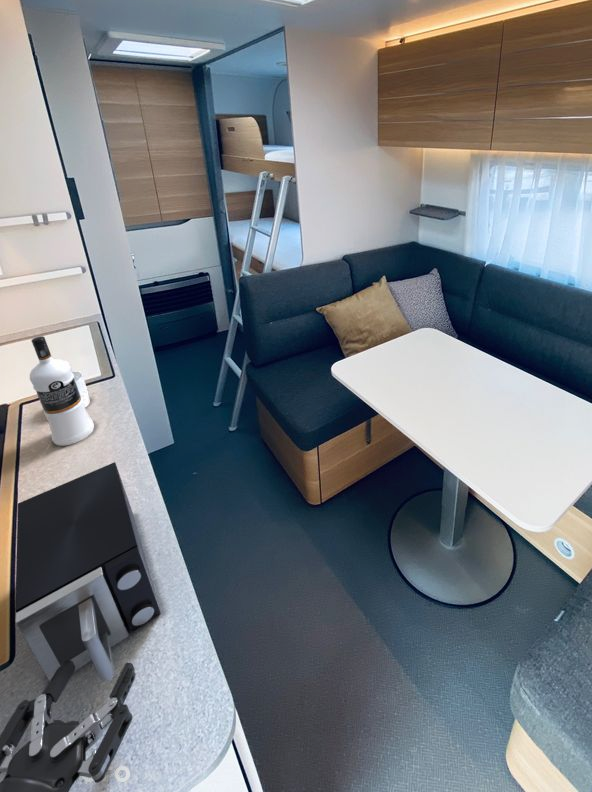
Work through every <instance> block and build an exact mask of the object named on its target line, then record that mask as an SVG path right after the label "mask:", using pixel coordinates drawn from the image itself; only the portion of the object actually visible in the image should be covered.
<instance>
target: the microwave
mask: <svg viewBox="0 0 592 792" xmlns="http://www.w3.org/2000/svg"><path fill="white" fill-rule="evenodd" d="M16 516H17V518H16V519H17V521H16V522H17V523H16V558H15V561H16V565H15V566H16V567H15V600H14V601H15V603H14V605H15V606H14V608H15V609H14V611H15V614H16V613H17V612H19V611H21V610H22V609H24V608H26V607H28V606H30V605H32V604H33V603H35V602H37V601H39V600H41V599H43V598H44V597H46V596H48V595H50V594H52V593H54V592H55V591H57V590H59V589H61V588H63V587H65V586H66V585H68V584H70V583H72V582H74V581H76V580H77V579H79V578H81V577H83V576H85V575H87V574H88V573H90V572H92V571H94V570H96V569H98V568H100V567H102V569H103V571H104V574H105V576H106V578H107V581H108V583H109V586H110V588H111V591H112V593H113V595H114V598H115V600H116V603H117V605H118V607H119V610H120V612H121V615H122V617H123V619H124V622H125V624H126V627H127V626H128V629H129V631H130V633H134V632H135V631H136V630H138V629H140V628H142V627H143V626H145V625H146V624H148V623H149V622H151V621H152V620H154V619H155V618H157V617H158V616H160V615H161V614H162V612H161V609H160V604H159V602H158V601H159V600H158V598H157V597H158V596H157V594H156V591H155V587H154V583H153V580H152V576H151V572H150V568H149V566H148V562H147V558H146V555H145V554H146V553H145V551H144V547H143V544H142V540H141V537H140V533H139V529H138V525H137V521H136V518H135V516H134V512H133V509H132V507H131V504H130V501H129V498H128V496H127V492H126V489H125V486H124V483H123V480H122V478H121V474H120V472H119V469H118V465H117V463H116V462H115V461H113V462H112V463H108V464H106V465H105V466H102V467H100V468H98V469H94V470H93V471H90V472H88V473H86V474H83V475H81V476H79V477H76V478H74V479H72V480H69V481H67V482H65V483H61V484H60V485H57V486H55V487H53V488H51V489H47V490H46V491H43V492H42V493H39V494H36V495H34V496H32V497H29V498H27V499H25V500H23V501H20V502H18V503H17V515H16Z"/></svg>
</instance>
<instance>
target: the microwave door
mask: <svg viewBox="0 0 592 792" xmlns="http://www.w3.org/2000/svg"><path fill="white" fill-rule="evenodd" d="M15 625H16V627H17V628H18V630H19V632H20V633H21V635H22V637H23V639H24V640H25V642H26V644H27V646H28V647H29V649H30V650H31V652H32V654H33V655H34V658H35V659H36V661H37V663H38V665H39V666H40V668H41V669H42V671H43V673H44V674H45V676H46V678H47V680H48V681H49V682H50V680H51V678H52V677H53V676H54V674H55V672H56V670H57V669H58V668H59V667H60V666H63V664H64V662H65V661H67V660H70V661H73V663H74V665H75V671H74V672H76V671H77V670H79V669H80V668H82V667H84V666H85V665H87V664H89V663H90V662H91V661H92V663H93V665H94V667H95V669H96V671H97V673H98V675H99V677H100V680H101V682H103V683H108V682H109V681H111V680H112V679H113V678H114V675H115V673H116V671H115V666H114V665H115V664H114V659H113V652H112V648H113V647H114V646H116V645H117V644H119V643H121V642H122V641H124V640H125V639H127V638H129V631H128V627H127V626H126V624H125V622H124V619H123V617H122V615H121V612H120V610H119V607H118V605H117V603H116V600H115V598H114V595H113V593H112V591H111V588H110V586H109V583H108V581H107V578H106V576H105V574H104V571H103V569H102V567H100V568H98V569H96V570H94V571H92V572H90V573H88V574H87V575H85V576H83V577H81V578H79V579H77V580H76V581H74V582H72V583H70V584H68V585H66V586H65V587H63V588H61V589H59V590H57V591H55V592H54V593H52V594H50V595H48V596H46V597H44V598H43V599H41V600H39V601H37V602H35V603H33V604H32V605H30V606H28V607H26V608H24V609H22V610H21V611H19V612H17V613H16V612H15Z"/></svg>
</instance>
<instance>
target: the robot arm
mask: <svg viewBox="0 0 592 792" xmlns="http://www.w3.org/2000/svg"><path fill="white" fill-rule="evenodd" d="M135 670H136V669H135V666H134V664H133V662H126V663H125V664H124V666H123V667H122V668H121V672H120V673H119V676H118V678H117V679H116V681H115V684H114V685H113V688H112V689H111V692H110V693H109V696H108V697H109V700H107V701H106V702H105V703H104V704H103V705H102V706H101V707H100V708H99V709H97V711H95V712H91V713H90V714H89V715H88V716H87V717H86V718H85V719H83V721H82V722H80V721H79V720H69V721H66V722H65V721H63V720H60V719H54V720H53V703H57V702H58V700H59V698H60V697H61V695H62V693H63V692H64V690H65V688H66V686H67V685H68V683H69V681H70V680H71V678H72V676H73V674H74V672H76V671H75V665H74V663H73V661H70V660H67V661H65V662H64V664H63V666H60V667H59V668H58V669H57V670H56V672H55V674H54V676H53V677H52V678H51V680H50V681H49V682H48V684H46V687H45V688H44V690H43V691H42V693H41V694H40V695H38V696H37V697H36V698H34V699H31V700H28V699H24V700H22V701H21V702H20V703H19V704H18V705H17V707H16V709H15V710H14V712H13V714H12V715H11V717H10V718H9V720H8V722H7V723H6V726H5V727H4V728H3V730H2V732H1V734H0V775H1V774H2V773H5V776H4V778H3V780H1V781H0V792H70V790H71V788H72V787H73V785H74V783H75V782H76V781H77V779H79V778H80V777H84V778H91V779H92V780H93V781H94V782H95V783H96V784H98V783H100V782H102V781H103V780H104V779H105V777H106V775H107V773H108V771H109V768H110V767H111V765H112V763H113V761H114V759H115V757H116V754H117V752H118V750H119V748H120V746H121V744H122V742H123V740H124V738H125V735H126V734H127V731H128V729H129V727H130V725H131V723H132V721H133V715H132V713H131V711H130V709H129V706H128V704H126V703H125V701H126V698H127V697H128V695H129V693H130V691H131V688H132V687H133V684H134V682H135V680H136V672H135ZM30 723H31V727H30V728H31V729H30V740H29V741H28V742H27V743H26V744H24V746H22V747H21V748H20V749H19V750H17V747H18V745H19V743H20V742H21V739H22V738H23V736H24V734H25V732H26V730H27V729H28V727H29V725H30ZM105 731H106V732H105ZM88 732H89V733H88ZM87 733H88V734H87ZM103 735H104V736H103ZM102 737H103V738H102ZM101 738H102V739H101ZM100 739H101V742H100V744H99V746H98V747H97V748H96V749H93V751H92V752H91V754H90V756H89V757H88V758H86V757H87V751H89V750H90V749H91V748H92V747H93V746H94V745H95V744H96V743H97V742H98V741H99V740H100Z"/></svg>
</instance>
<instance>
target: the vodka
mask: <svg viewBox="0 0 592 792" xmlns="http://www.w3.org/2000/svg"><path fill="white" fill-rule="evenodd" d="M31 344H32V346H33V348H34V351H35V354H36V355H37V356H36V357H37V359H38V362H39V363H37V364H36V365H35V366H34V367H33V368H32V369H31V371H30V372H29V381H30V382H31V384H32V387H33V390H34V391H35V392H36V395H37V397H38V399H39V402H40V405H41V407H42V410H43V415H44V416H45V418H46V420H47V422H48V425H49V429H50V433H51V434H50V437H51V441H52V443H54V444H55V445H56V446H62V447H66V446H70V445H74V444H77V443H79V442H81V441H83V440H84V439H86V438H88V437H89V436H90V435H91V434H92V433H93V431H94V429H95V424H94V421H93V419H92V418H91V417H90V416H89V414H88V411H87V409H86V407H84V404H83V399H82V398H81V396H80V393H79V390H78V388H77V385H76V382H75V379H74V374H73V373H72V372H73V370H72V366H71V364H70V363H69V362H68V361H66V360H65V359H59V358H53V356H52V353H51V351H50V348H49V346H48V342H47V341H46V338H45V336H42V335H40V336H36V337H34V338H32V339H31Z"/></svg>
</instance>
